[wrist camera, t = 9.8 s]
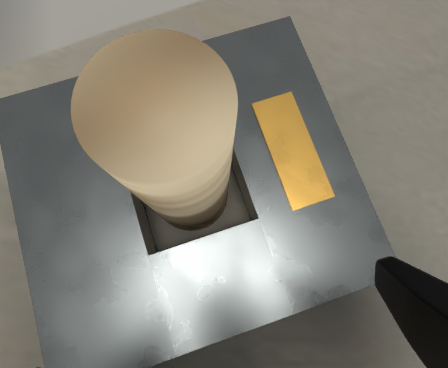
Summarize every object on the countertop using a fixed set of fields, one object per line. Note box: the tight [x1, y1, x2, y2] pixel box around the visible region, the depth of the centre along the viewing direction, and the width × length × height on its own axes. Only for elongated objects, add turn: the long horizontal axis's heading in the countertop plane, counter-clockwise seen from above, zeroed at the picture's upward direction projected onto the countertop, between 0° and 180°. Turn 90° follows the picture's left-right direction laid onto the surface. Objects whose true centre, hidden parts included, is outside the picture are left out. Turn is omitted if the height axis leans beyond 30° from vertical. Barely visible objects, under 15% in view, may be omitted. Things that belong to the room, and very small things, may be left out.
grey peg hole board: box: [0, 16, 396, 368], centre depth 20 cm, size 16×18×3 cm
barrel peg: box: [71, 29, 238, 230], centre depth 15 cm, size 4×4×12 cm
